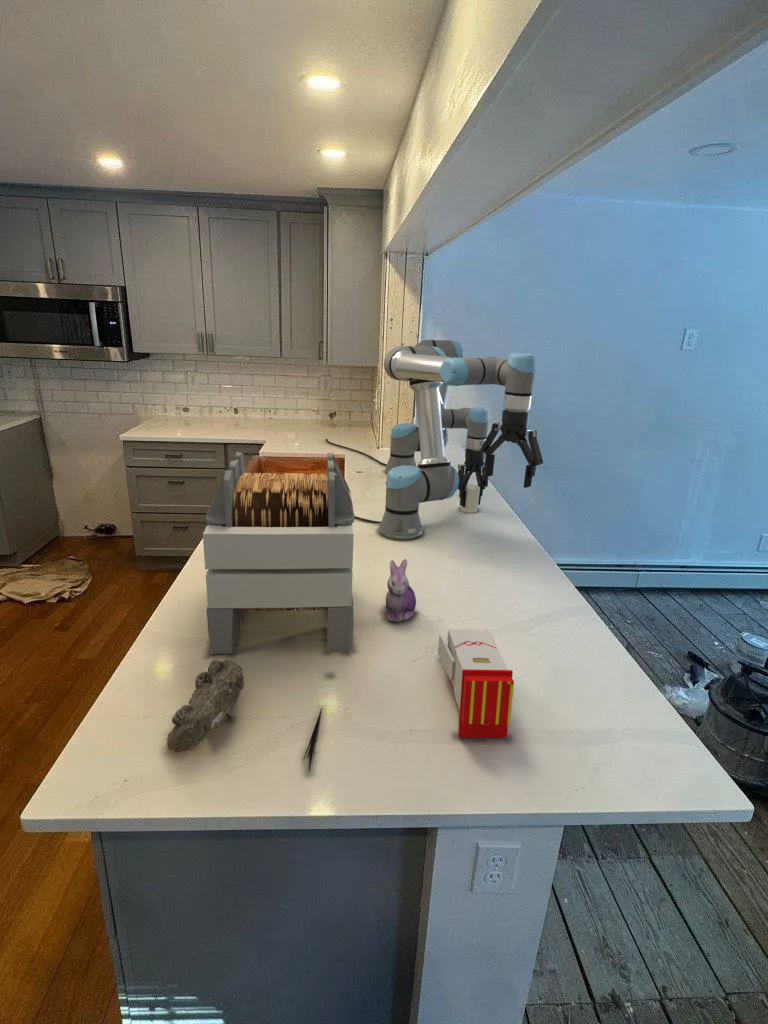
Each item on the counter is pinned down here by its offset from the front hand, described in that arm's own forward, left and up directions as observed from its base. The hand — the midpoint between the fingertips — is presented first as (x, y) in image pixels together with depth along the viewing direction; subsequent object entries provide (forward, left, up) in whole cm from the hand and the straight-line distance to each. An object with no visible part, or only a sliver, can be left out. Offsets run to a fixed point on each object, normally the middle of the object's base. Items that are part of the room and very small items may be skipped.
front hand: (507, 481), depth 169 cm
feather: (+24, -84, -28) cm, 92 cm away
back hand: (-40, +33, -26) cm, 58 cm away
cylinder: (-40, +33, -28) cm, 59 cm away
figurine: (+4, -45, -28) cm, 53 cm away
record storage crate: (-12, -69, -28) cm, 76 cm away
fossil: (+11, -100, -28) cm, 104 cm away
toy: (+36, -54, -28) cm, 71 cm away
